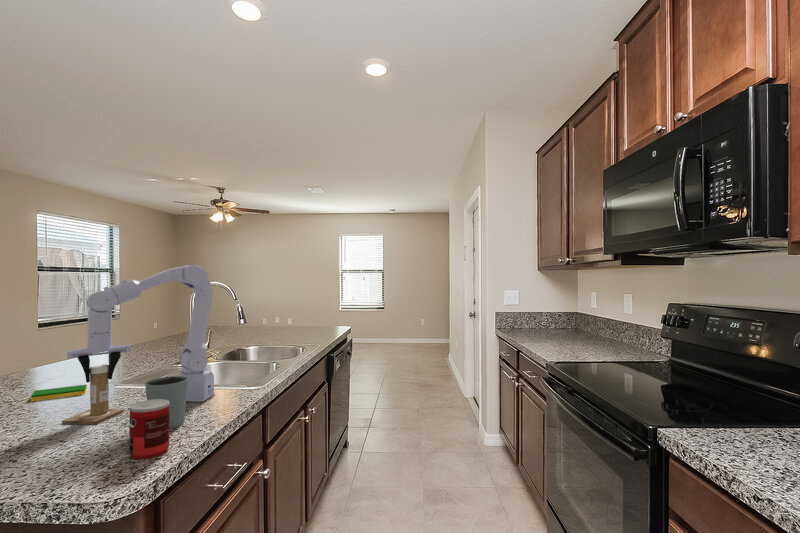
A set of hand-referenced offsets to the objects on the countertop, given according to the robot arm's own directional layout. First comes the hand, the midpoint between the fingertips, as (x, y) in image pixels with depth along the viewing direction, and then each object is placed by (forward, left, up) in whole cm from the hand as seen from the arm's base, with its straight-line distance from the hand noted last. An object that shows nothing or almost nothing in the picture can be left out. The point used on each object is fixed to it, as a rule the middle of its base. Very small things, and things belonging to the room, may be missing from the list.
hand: (99, 380), depth 116 cm
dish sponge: (+30, -19, -11) cm, 37 cm away
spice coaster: (+1, +1, -10) cm, 11 cm away
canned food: (-30, +22, -11) cm, 39 cm away
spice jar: (0, 0, -10) cm, 10 cm away
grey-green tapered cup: (-23, +5, -11) cm, 26 cm away
